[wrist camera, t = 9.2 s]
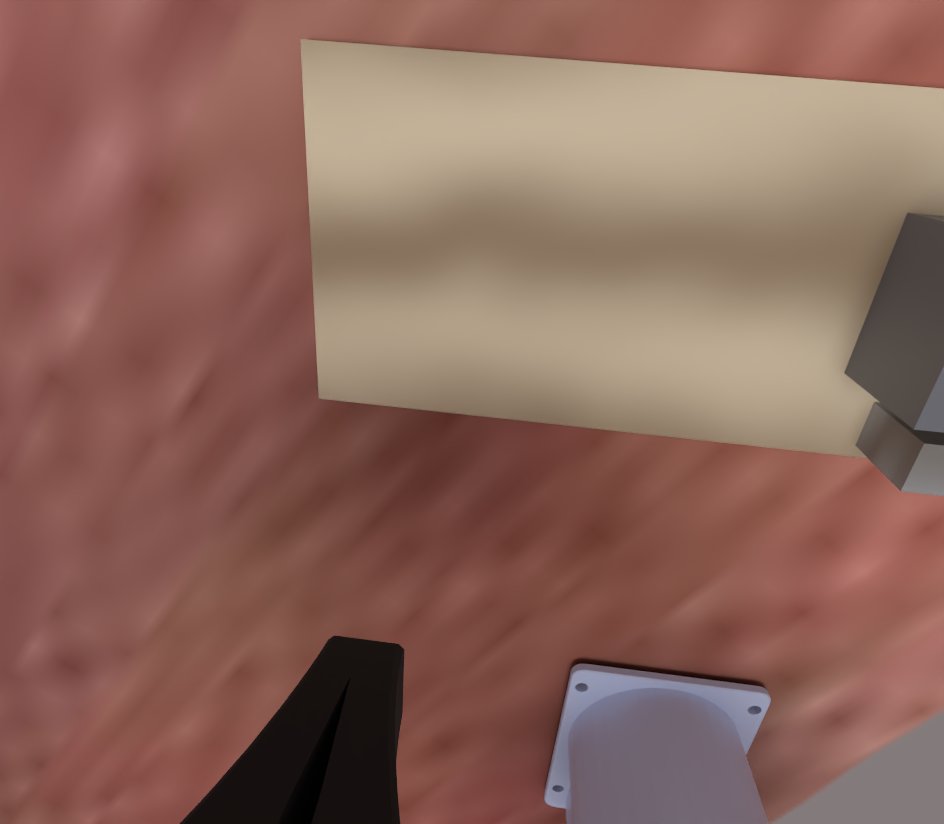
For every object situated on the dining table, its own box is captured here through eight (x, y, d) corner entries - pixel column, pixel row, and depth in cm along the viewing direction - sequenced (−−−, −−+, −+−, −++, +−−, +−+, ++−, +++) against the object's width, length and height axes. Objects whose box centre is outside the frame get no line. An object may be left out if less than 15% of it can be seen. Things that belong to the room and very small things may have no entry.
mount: (1373, 504, 18) (1526, 574, 15) (324, 391, 20) (290, 435, 17) (1709, 149, 13) (2014, 157, 11) (308, 42, 15) (258, 24, 12)
